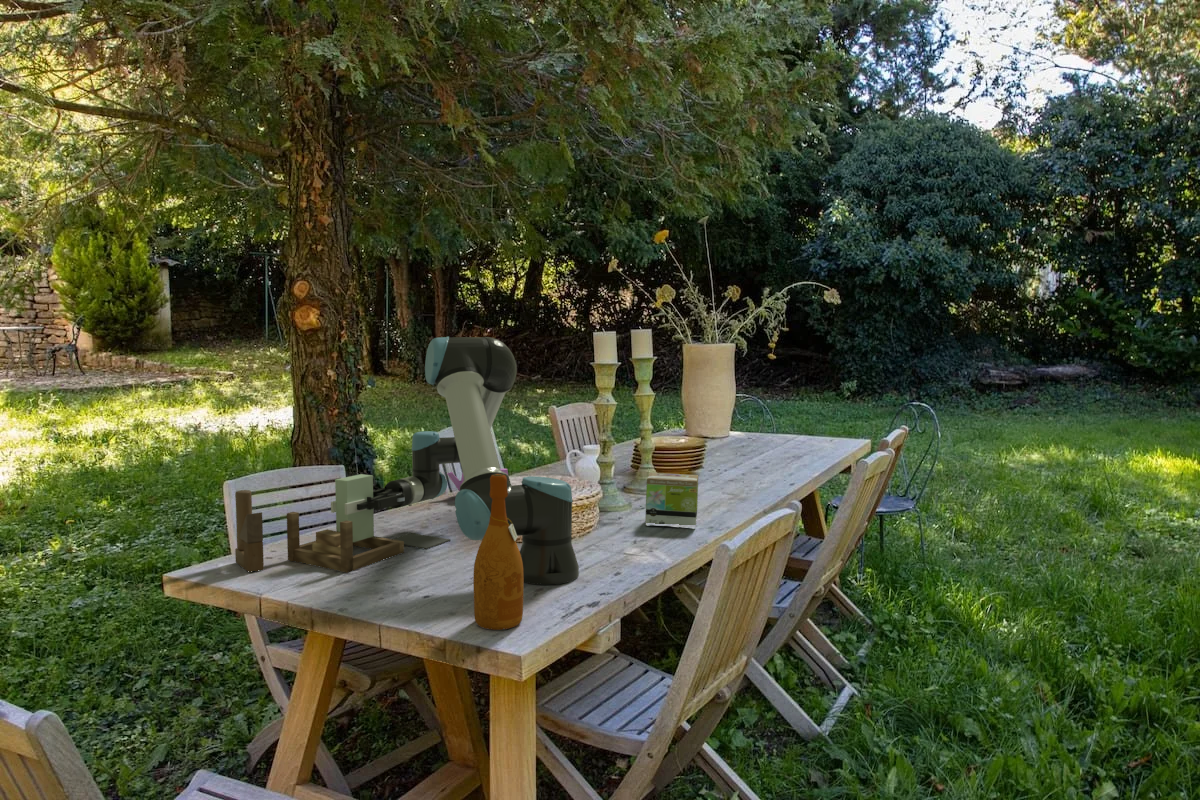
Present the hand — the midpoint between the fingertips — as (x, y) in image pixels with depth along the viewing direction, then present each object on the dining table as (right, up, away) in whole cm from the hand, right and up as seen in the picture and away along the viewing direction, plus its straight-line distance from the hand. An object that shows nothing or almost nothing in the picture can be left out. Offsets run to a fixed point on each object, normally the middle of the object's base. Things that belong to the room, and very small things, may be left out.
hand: (339, 508), depth 204 cm
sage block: (+3, -9, +6) cm, 11 cm away
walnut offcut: (-1, -8, -2) cm, 9 cm away
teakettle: (+24, -7, +75) cm, 78 cm away
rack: (+1, -13, +3) cm, 13 cm away
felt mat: (+16, -11, +18) cm, 26 cm away
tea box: (+87, -10, +40) cm, 96 cm away
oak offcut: (-1, -11, -2) cm, 11 cm away
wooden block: (-20, -14, -6) cm, 25 cm away
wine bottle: (+45, -18, -42) cm, 64 cm away
